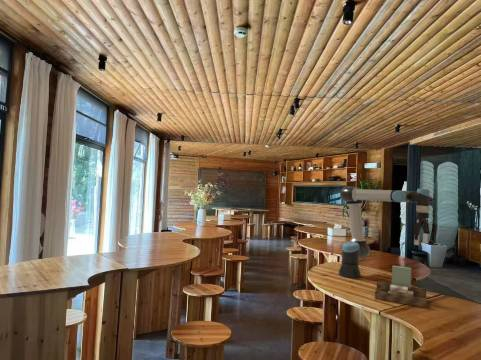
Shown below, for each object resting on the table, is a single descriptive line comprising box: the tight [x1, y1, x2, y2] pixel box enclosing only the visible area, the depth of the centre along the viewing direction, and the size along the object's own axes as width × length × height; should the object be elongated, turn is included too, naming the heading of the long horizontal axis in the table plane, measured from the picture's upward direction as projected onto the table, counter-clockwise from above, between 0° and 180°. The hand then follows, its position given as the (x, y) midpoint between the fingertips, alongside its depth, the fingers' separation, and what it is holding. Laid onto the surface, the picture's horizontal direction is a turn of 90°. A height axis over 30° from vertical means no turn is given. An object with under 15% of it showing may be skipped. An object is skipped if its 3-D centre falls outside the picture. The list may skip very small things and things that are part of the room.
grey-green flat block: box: [391, 265, 412, 288], centre depth 200 cm, size 10×2×16 cm, turn 64°
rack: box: [374, 280, 428, 309], centre depth 196 cm, size 26×15×6 cm, turn 64°
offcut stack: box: [388, 284, 413, 297], centre depth 194 cm, size 13×6×6 cm, turn 64°
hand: (420, 244), depth 226 cm, fingers open, 13 cm apart
